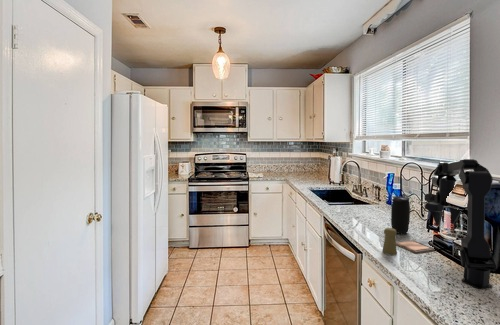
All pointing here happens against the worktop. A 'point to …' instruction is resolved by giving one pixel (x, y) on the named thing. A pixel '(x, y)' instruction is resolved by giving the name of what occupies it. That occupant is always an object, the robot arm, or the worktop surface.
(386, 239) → the cork
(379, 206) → the worktop surface
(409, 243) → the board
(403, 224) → the portable speaker
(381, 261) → the worktop surface
